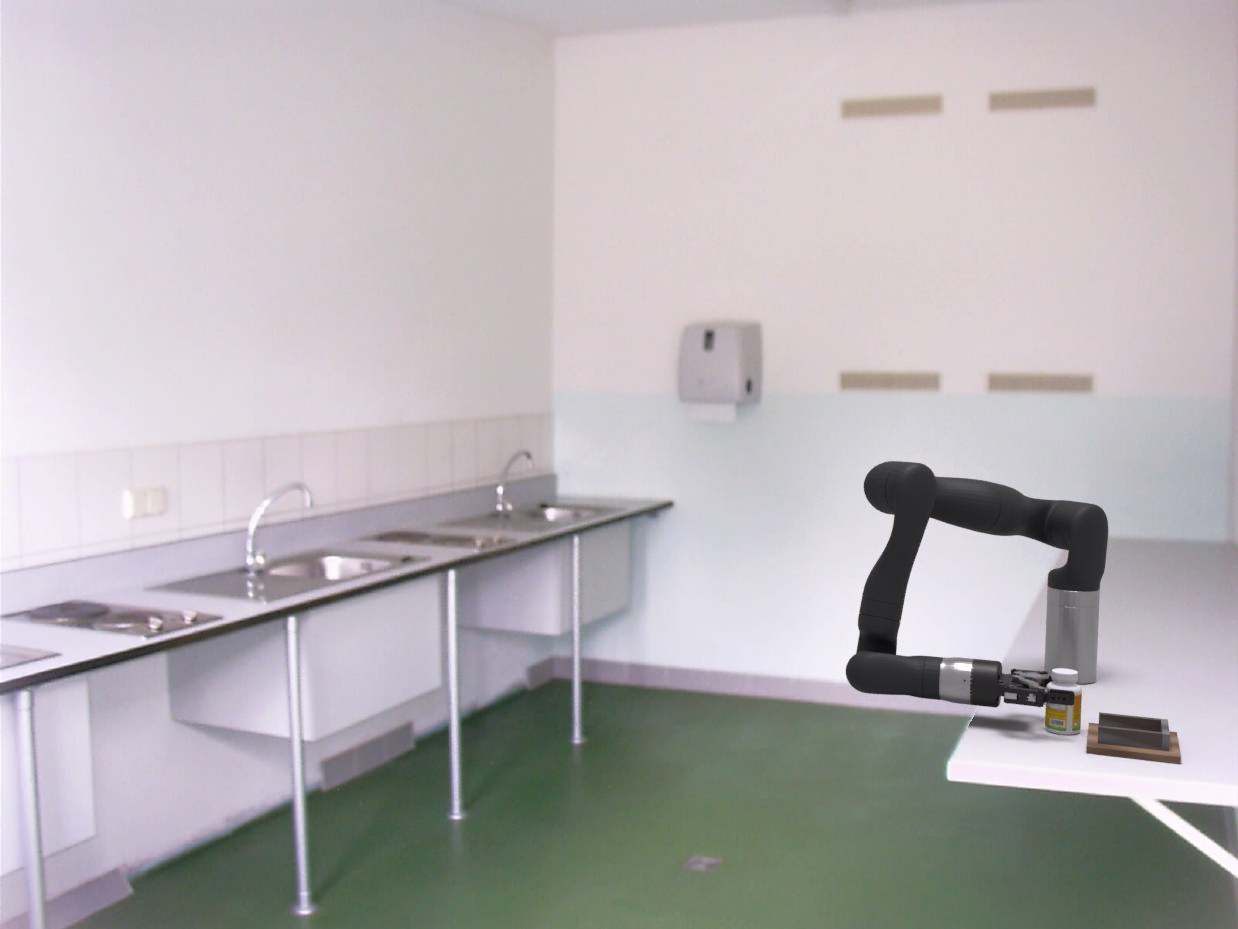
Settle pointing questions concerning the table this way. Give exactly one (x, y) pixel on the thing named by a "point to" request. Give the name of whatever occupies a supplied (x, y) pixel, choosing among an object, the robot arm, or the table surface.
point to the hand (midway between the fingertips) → (1075, 692)
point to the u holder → (1133, 738)
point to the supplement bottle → (1064, 716)
